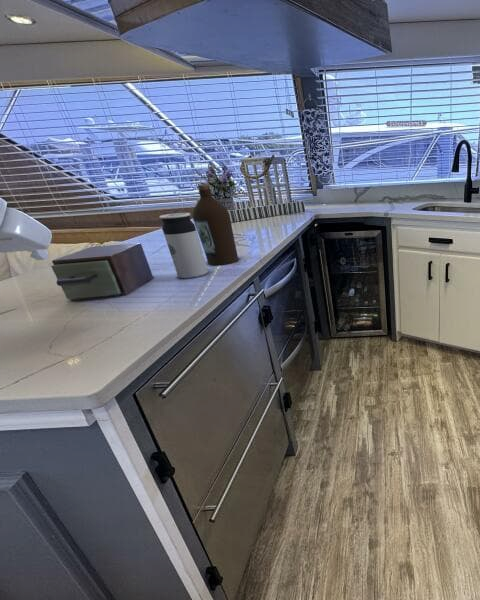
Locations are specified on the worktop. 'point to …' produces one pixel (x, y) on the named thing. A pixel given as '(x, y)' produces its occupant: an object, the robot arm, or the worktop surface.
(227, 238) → the olive oil
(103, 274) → the drawer
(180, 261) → the travel mug
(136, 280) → the storage box
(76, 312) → the worktop surface
